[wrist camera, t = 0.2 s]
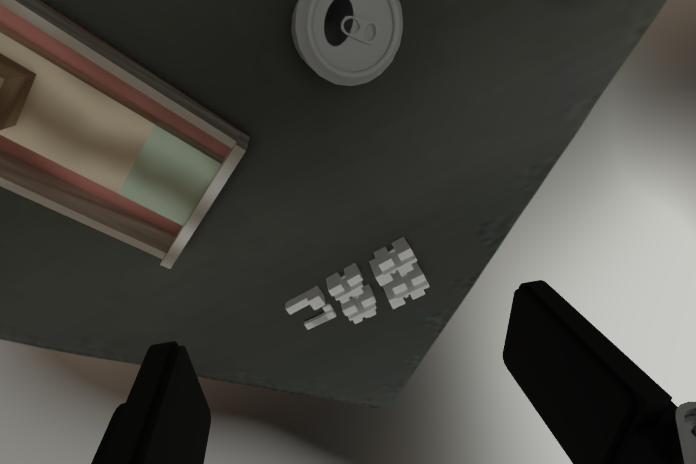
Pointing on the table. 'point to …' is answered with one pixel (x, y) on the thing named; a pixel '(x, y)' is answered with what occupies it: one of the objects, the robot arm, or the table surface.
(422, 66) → the table surface
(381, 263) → the modular blocks
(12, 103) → the walnut block
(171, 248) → the trap box
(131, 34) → the table surface
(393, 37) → the can
